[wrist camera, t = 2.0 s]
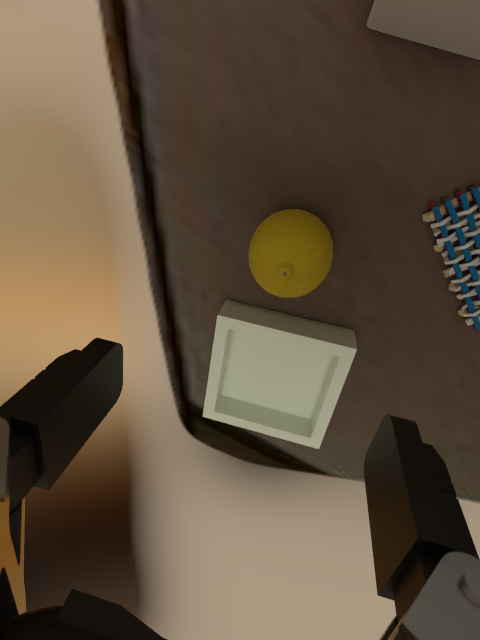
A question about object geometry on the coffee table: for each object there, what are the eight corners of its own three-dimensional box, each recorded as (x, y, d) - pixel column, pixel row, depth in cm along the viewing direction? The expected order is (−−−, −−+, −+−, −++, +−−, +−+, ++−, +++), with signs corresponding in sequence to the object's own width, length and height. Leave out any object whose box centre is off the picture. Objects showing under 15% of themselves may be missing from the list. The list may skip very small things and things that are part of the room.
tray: (354, 330, 30) (357, 349, 28) (319, 425, 36) (318, 449, 33) (226, 299, 31) (217, 315, 29) (211, 396, 37) (202, 416, 34)
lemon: (269, 277, 30) (250, 323, 23) (251, 209, 27) (225, 237, 21) (338, 264, 28) (341, 309, 21) (326, 190, 26) (325, 214, 19)
